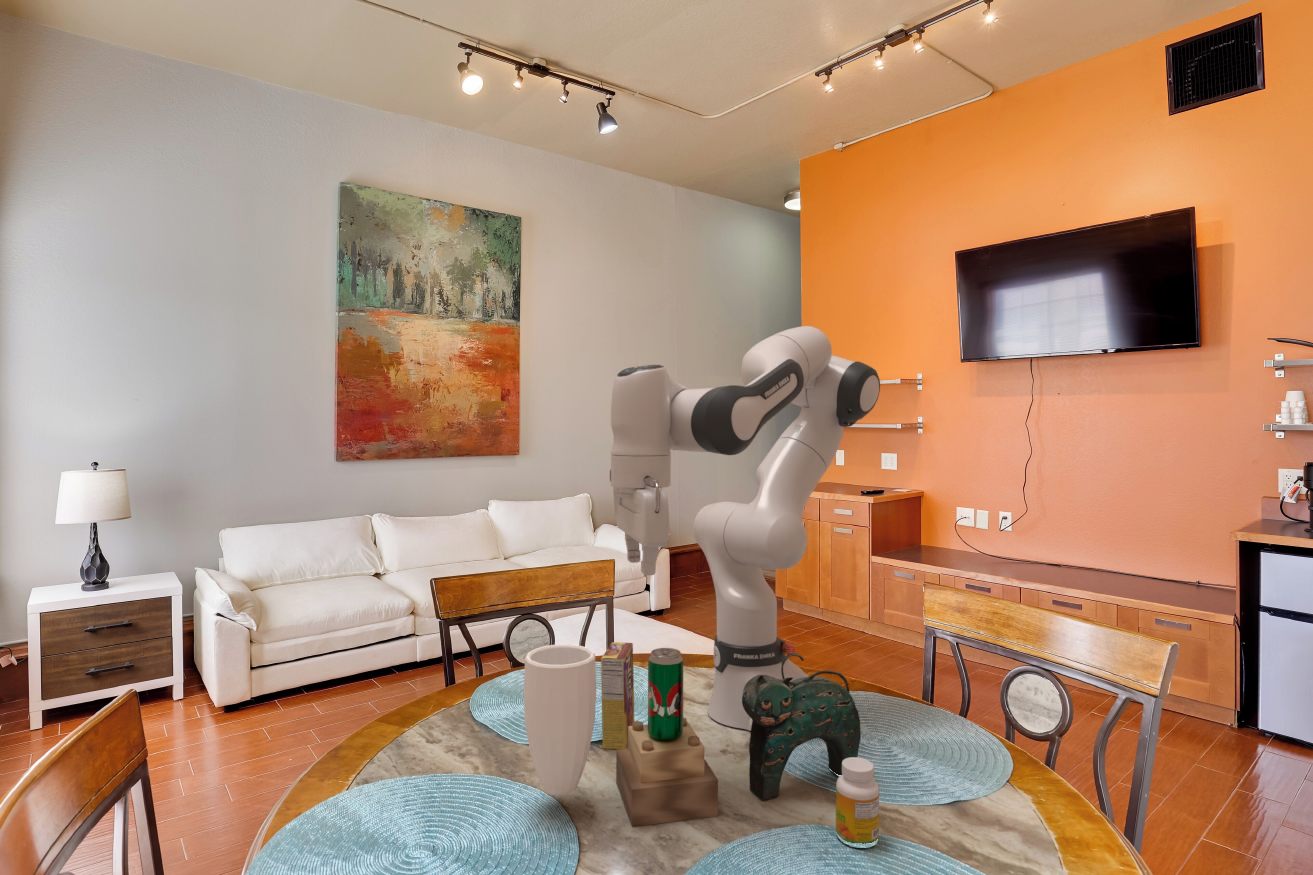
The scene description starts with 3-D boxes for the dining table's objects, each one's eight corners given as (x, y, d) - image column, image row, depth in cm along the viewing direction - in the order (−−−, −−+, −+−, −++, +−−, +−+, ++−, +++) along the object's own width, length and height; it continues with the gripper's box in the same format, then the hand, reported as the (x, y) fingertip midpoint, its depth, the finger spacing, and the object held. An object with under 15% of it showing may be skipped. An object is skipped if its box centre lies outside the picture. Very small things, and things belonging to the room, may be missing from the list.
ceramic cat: (756, 808, 100) (757, 666, 99) (732, 786, 106) (733, 652, 105) (867, 778, 108) (868, 647, 108) (839, 760, 114) (840, 636, 114)
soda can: (683, 728, 104) (684, 647, 104) (682, 743, 99) (682, 658, 99) (649, 727, 105) (649, 646, 105) (646, 742, 100) (646, 657, 100)
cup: (565, 837, 92) (565, 672, 92) (506, 813, 98) (506, 657, 97) (612, 801, 101) (612, 650, 101) (555, 782, 107) (555, 638, 106)
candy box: (611, 726, 126) (611, 641, 126) (635, 728, 126) (635, 642, 126) (600, 748, 118) (600, 657, 117) (625, 750, 117) (626, 658, 117)
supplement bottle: (829, 827, 95) (830, 754, 95) (869, 825, 95) (869, 753, 95) (843, 851, 90) (844, 774, 89) (885, 849, 90) (886, 773, 90)
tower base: (693, 774, 109) (693, 710, 109) (717, 815, 98) (718, 744, 97) (616, 782, 106) (616, 717, 106) (631, 826, 95) (632, 753, 95)
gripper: (681, 479, 96) (680, 581, 96) (645, 469, 116) (645, 554, 116) (635, 480, 94) (635, 584, 95) (607, 470, 114) (607, 556, 114)
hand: (640, 567), depth 105 cm, fingers open, 8 cm apart
